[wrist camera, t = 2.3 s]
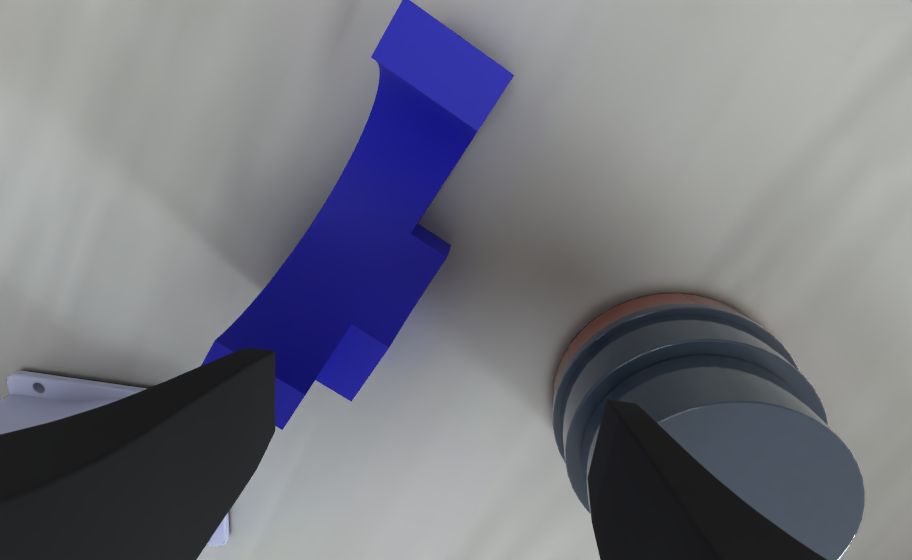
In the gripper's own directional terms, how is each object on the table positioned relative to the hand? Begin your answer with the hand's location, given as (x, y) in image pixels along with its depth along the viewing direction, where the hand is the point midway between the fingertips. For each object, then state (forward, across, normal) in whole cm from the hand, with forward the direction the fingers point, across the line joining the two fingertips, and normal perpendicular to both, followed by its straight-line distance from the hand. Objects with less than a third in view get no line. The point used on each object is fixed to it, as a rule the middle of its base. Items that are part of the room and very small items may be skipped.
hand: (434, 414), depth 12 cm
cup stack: (+10, -8, +4) cm, 13 cm away
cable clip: (+10, +3, -2) cm, 10 cm away
